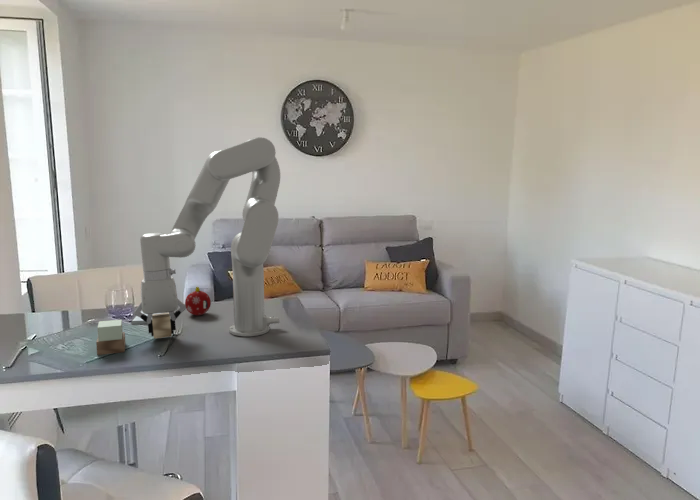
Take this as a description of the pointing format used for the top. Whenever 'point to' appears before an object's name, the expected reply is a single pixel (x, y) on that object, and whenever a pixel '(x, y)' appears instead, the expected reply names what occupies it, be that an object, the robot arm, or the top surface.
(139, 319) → the hard drive
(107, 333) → the tower top
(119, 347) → the tower bottom
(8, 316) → the top surface
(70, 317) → the top surface
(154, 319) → the oak block
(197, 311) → the christmas ornament
